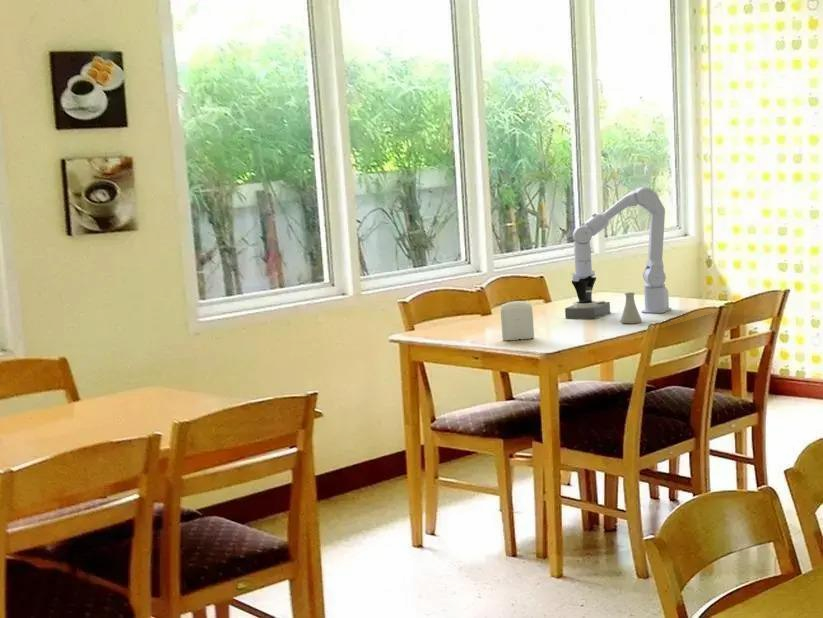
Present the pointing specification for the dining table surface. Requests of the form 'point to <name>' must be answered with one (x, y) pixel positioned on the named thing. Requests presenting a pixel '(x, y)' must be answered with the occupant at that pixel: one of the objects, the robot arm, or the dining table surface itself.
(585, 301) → the lens
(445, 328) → the dining table surface
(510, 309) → the white rounded slab
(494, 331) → the dining table surface
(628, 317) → the flask
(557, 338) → the dining table surface
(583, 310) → the camera body
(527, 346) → the dining table surface
